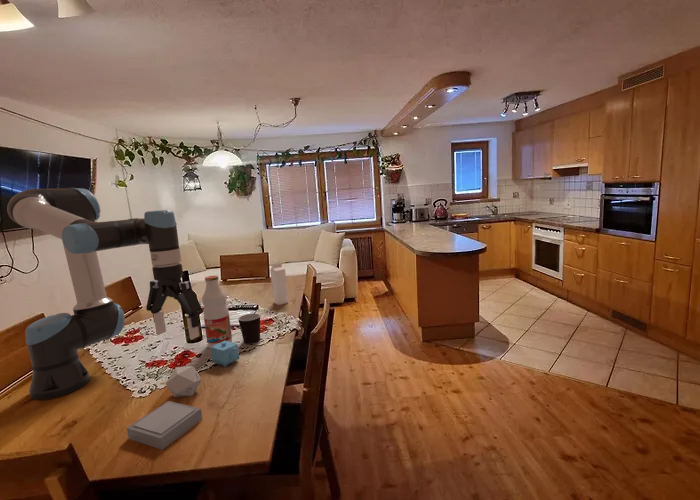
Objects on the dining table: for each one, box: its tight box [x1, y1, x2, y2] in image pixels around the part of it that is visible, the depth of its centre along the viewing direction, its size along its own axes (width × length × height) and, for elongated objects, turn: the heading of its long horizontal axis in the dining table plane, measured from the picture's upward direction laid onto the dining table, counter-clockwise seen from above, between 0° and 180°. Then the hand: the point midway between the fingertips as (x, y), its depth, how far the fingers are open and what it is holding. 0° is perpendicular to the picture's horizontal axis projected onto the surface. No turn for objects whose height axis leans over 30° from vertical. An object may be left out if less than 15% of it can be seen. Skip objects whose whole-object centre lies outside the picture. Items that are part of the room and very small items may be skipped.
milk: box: [269, 262, 289, 306], centre depth 193 cm, size 6×6×22 cm
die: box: [165, 365, 203, 398], centre depth 106 cm, size 8×9×10 cm
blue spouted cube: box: [210, 341, 240, 368], centre depth 125 cm, size 12×6×8 cm, turn 56°
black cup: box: [237, 313, 261, 345], centre depth 145 cm, size 12×9×10 cm
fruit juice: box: [201, 274, 233, 349], centre depth 140 cm, size 9×9×28 cm
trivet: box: [126, 400, 203, 451], centre depth 90 cm, size 12×12×3 cm
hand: (177, 335), depth 104 cm, fingers open, 13 cm apart
